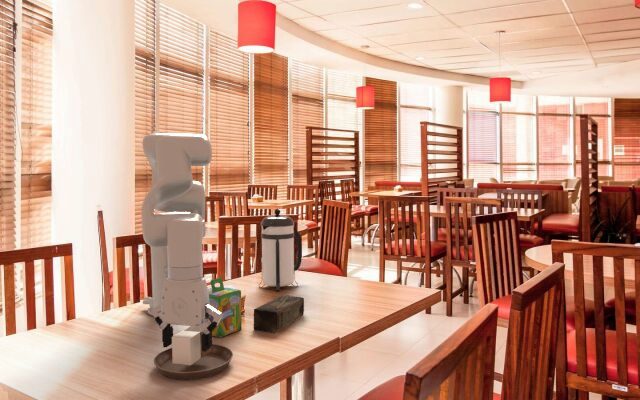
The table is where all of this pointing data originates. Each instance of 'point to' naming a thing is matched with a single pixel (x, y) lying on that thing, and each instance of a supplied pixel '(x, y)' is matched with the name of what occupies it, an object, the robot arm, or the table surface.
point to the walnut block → (198, 329)
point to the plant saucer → (194, 364)
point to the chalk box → (225, 308)
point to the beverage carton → (278, 313)
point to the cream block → (186, 347)
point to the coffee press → (279, 251)
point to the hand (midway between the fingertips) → (187, 347)
